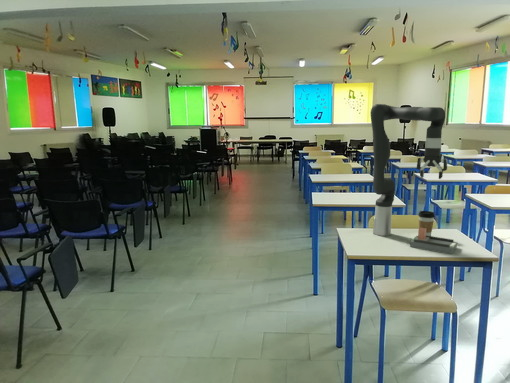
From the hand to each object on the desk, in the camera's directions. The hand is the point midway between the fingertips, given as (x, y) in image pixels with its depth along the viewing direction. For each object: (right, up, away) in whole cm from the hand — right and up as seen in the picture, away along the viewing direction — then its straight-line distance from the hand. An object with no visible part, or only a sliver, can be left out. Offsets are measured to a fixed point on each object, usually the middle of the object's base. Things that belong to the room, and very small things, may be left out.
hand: (430, 178), depth 201 cm
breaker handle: (-3, -33, +5) cm, 33 cm away
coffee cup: (+5, -33, +19) cm, 39 cm away
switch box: (+2, -36, +2) cm, 36 cm away
